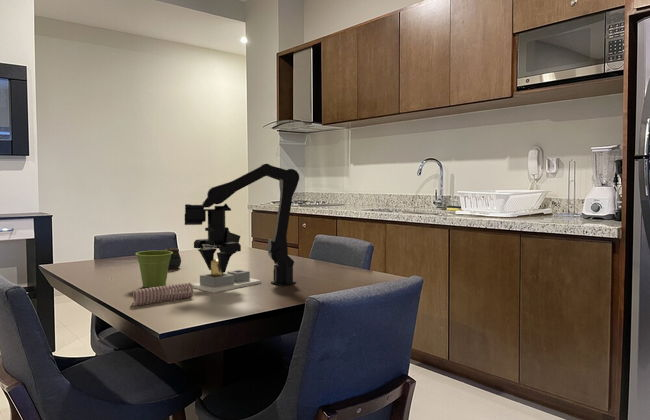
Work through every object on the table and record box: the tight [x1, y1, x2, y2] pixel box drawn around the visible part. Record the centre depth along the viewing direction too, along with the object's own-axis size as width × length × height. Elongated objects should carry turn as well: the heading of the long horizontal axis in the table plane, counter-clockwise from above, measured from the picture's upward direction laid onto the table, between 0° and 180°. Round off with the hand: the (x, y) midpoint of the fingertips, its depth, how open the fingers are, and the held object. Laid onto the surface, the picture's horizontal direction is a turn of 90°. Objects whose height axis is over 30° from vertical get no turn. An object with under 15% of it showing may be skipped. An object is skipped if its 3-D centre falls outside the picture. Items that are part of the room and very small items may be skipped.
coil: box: [131, 282, 194, 307], centre depth 143 cm, size 5×5×18 cm
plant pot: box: [135, 249, 173, 289], centre depth 164 cm, size 12×12×11 cm
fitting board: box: [191, 269, 262, 294], centre depth 165 cm, size 12×20×4 cm, turn 138°
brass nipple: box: [210, 258, 223, 277], centre depth 162 cm, size 4×4×8 cm
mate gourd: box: [164, 245, 182, 270], centre depth 198 cm, size 7×8×10 cm
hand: (217, 271), depth 162 cm, fingers open, 7 cm apart
